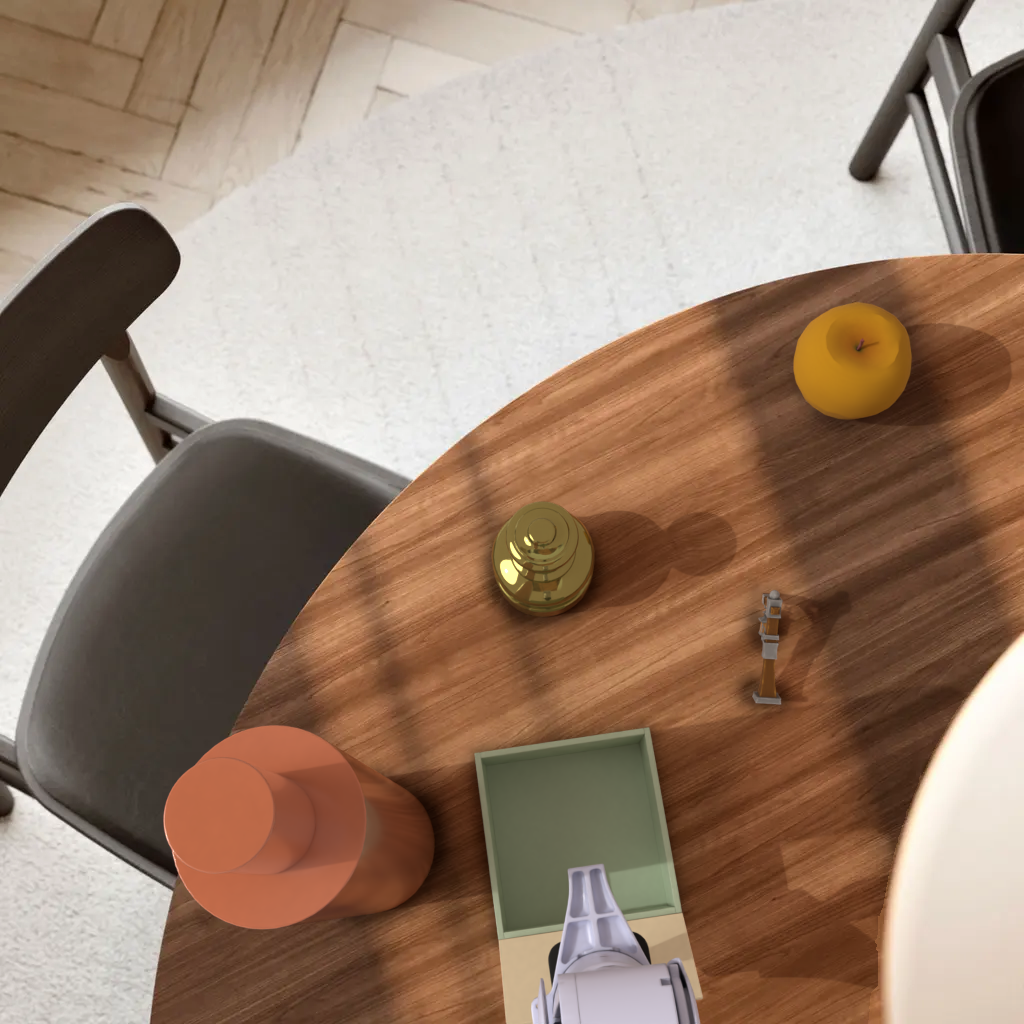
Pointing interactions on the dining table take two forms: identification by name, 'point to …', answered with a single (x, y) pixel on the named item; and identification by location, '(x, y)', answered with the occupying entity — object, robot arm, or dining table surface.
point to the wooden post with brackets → (769, 648)
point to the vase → (294, 832)
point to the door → (530, 953)
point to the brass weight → (543, 559)
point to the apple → (853, 361)
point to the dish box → (574, 828)
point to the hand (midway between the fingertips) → (601, 992)
